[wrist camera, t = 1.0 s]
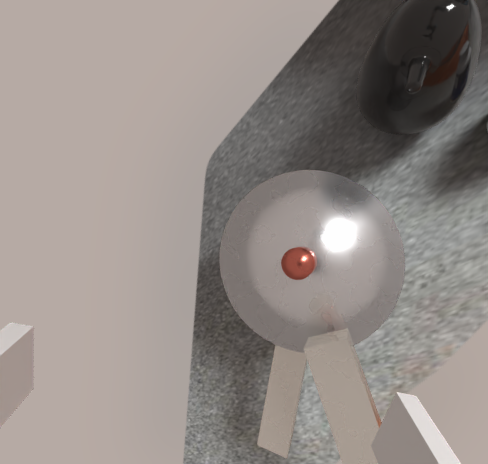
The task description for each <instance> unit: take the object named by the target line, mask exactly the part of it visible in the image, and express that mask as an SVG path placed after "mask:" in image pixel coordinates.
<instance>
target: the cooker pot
mask: <svg viewBox="0 0 488 464" xmlns="http://www.w3.org/2000/svg"><path fill="white" fill-rule="evenodd" d="M306 363H307V357H306V354H305V353H302V352H296V351H292V350H288V349H285V348H282V347H280V346H277V345H275V350H274V356H273V361H272V367H271V372H270V377H269V383H268V388H267V394H266V399H265V405H264V410H263V415H262V421H261V426H260V432H259V437H258V442H257V445H258V446H261V447H263V448H265V449H267V450H269V451H272V452H274V453H276V454H278V455H280V456H282V457H285V458H287V456H288V453H289V449H290V446H291V442H292V437H293V431H294V426H295V421H296V416H297V410H298V405H299V400H300V395H301V389H302V384H303V379H304V374H305V369H306Z"/></svg>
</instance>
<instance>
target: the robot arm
mask: <svg viewBox="0 0 488 464" xmlns="http://www.w3.org/2000/svg"><path fill="white" fill-rule="evenodd" d="M33 329H34V327H33V326H28V325H23V324H17V323H12V322H11V323H9V324H8V325H7V326H5V327H4V328H3V329H1V330H0V428H1V426H2V425H3V424H4V423H5V422H6V421H7V419H8V418H9V417H10V416H11V414H12V413H13V412H14V411H15V410H16V409H17V407H18V406H19V405H20V404H21V403H22V401H24V399H25V398H26V397H27V396H28V395H29V393H30V392H31V391H32V390H33ZM371 447H372V450H373V452H374V454H375V457H376V459H377V462H378V464H461V463H460V461H459V460H458V458H457V457H456V456H455V454H454V452H453V451H452V449H451V448H450V446H449V445H448V443H447V442H446V440H445V439H444V437H443V436H442V434H441V433H440V431H439V430H438V428H437V427H436V425H435V424H434V422H433V421H432V419H431V418H430V416H429V415H428V413H427V412H426V410H425V409H424V407H423V406H422V404H421V403H420V401H419V400H418V398H417V397H416V396H415V395H409V394H404V393H398V392H396V394H395V396H394V398H393V400H392V402H391V404H390V407H389V409H388V411H387V413H386V415H385V417H384V419H383V421H382V423H381V426H380V428H379V430H378V432H377V434H376V436H375V438H374V440H373V442H372V445H371Z"/></svg>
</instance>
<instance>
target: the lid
mask: <svg viewBox="0 0 488 464" xmlns="http://www.w3.org/2000/svg"><path fill="white" fill-rule="evenodd" d="M219 265H220V273H221V278H222V282H223V286H224V289H225V291H226V294H227V297H228V299H229V301H230V302H231V304H232V306H233V308H234V309H235V311H236V312H237V314H238V315H239V316H240V318H241V319H242V320H243V321H244V322H245V323H246V325H248V326H249V327H250V328H251V329H252V330H253V331H254V332H255V333H257V334H258V335H260V336H261V337H262V338H264V339H265V340H267V341H269V342H271V343H273V344H275V345H277V346H280V347H282V348H285V349H288V350H292V351H296V352H302V353H305V354H306V357H307V360H308V363H309V366H310V369H311V372H312V375H313V378H314V381H315V384H316V387H317V389H318V392H319V395H320V398H321V401H322V404H323V407H324V410H325V413H326V416H327V419H328V422H329V425H330V428H331V431H332V434H333V437H334V439H335V442H336V445H337V448H338V451H339V454H340V457H341V460H342V463H343V464H378V462H377V459H376V457H375V454H374V452H373V450H372V447H371V445H372V442H373V440H374V438H375V436H376V434H377V432H378V430H379V428H380V426H381V423H382V422H381V419H380V416H379V413H378V411H377V408H376V405H375V402H374V400H373V397H372V394H371V391H370V389H369V386H368V383H367V380H366V378H365V375H364V372H363V369H362V367H361V364H360V361H359V358H358V356H357V353H356V350H355V347H354V345H355V344H357V343H359V342H361V341H362V340H364V339H366V338H367V337H369V336H370V335H371V334H372V333H374V332H375V331H376V330H377V329H378V328H379V327H380V326H381V325H382V324H383V323H384V322H385V321H386V319H387V318H388V317H389V315H390V314H391V312H392V310H393V309H394V307H395V305H396V303H397V301H398V298H399V296H400V293H401V290H402V286H403V282H404V274H405V254H404V248H403V243H402V240H401V236H400V233H399V230H398V228H397V226H396V224H395V222H394V220H393V218H392V217H391V215H390V214H389V212H388V211H387V209H386V208H385V206H384V205H383V204H382V203H381V202H380V201H379V200H378V199H377V197H375V196H374V195H373V194H372V193H371V192H370V191H368V190H367V189H366V188H364V187H363V186H361V185H360V184H358V183H357V182H355V181H353V180H351V179H348V178H346V177H344V176H341V175H338V174H335V173H332V172H326V171H320V170H299V171H292V172H288V173H283V174H280V175H278V176H275V177H272V178H270V179H268V180H266V181H264V182H262V183H261V184H260V185H258V186H257V187H255V188H254V189H252V190H251V191H250V192H249V193H248V194H247V195H246V196H245V197H244V198H243V199H242V200H241V201H240V202H239V203H238V205H237V206H236V208H235V209H234V211H233V212H232V214H231V216H230V217H229V219H228V221H227V223H226V226H225V229H224V232H223V235H222V239H221V244H220V253H219Z"/></svg>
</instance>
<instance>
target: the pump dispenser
mask: <svg viewBox="0 0 488 464" xmlns="http://www.w3.org/2000/svg"><path fill="white" fill-rule="evenodd" d="M481 38H482V23H481V16H480V11H479V8H478V5H477V3H476V1H475V0H405V1H403V2H402V3H401V4H400V5H399V6H398V7H397V8H396V9H395V10H394V11H393V13H392V14H391V15H390V16H389V17H388V19H387V20H386V21H385V23H384V24H383V25H382V27H381V28H380V30H379V32H378V33H377V35H376V36H375V38H374V40H373V42H372V43H371V45H370V47H369V49H368V51H367V53H366V56H365V58H364V61H363V63H362V66H361V69H360V72H359V76H358V80H357V87H356V97H357V103H358V107H359V109H360V111H361V113H362V115H363V116H364V118H365V119H366V120H367V121H368V122H369V123H370V124H371V125H373V126H374V127H375V128H377V129H379V130H381V131H384V132H387V133H391V134H398V135H407V134H414V133H419V132H422V131H425V130H428V129H430V128H432V127H434V126H436V125H438V124H439V123H441V122H442V121H444V120H445V119H446V118H447V117H448V116H449V115H450V114H451V113H452V112H453V111H454V110H455V109H456V108H457V107H458V105H459V104H460V103H461V101H462V100H463V98H464V96H465V94H466V93H467V90H468V88H469V86H470V84H471V81H472V79H473V76H474V73H475V70H476V67H477V63H478V58H479V53H480V47H481Z"/></svg>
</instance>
